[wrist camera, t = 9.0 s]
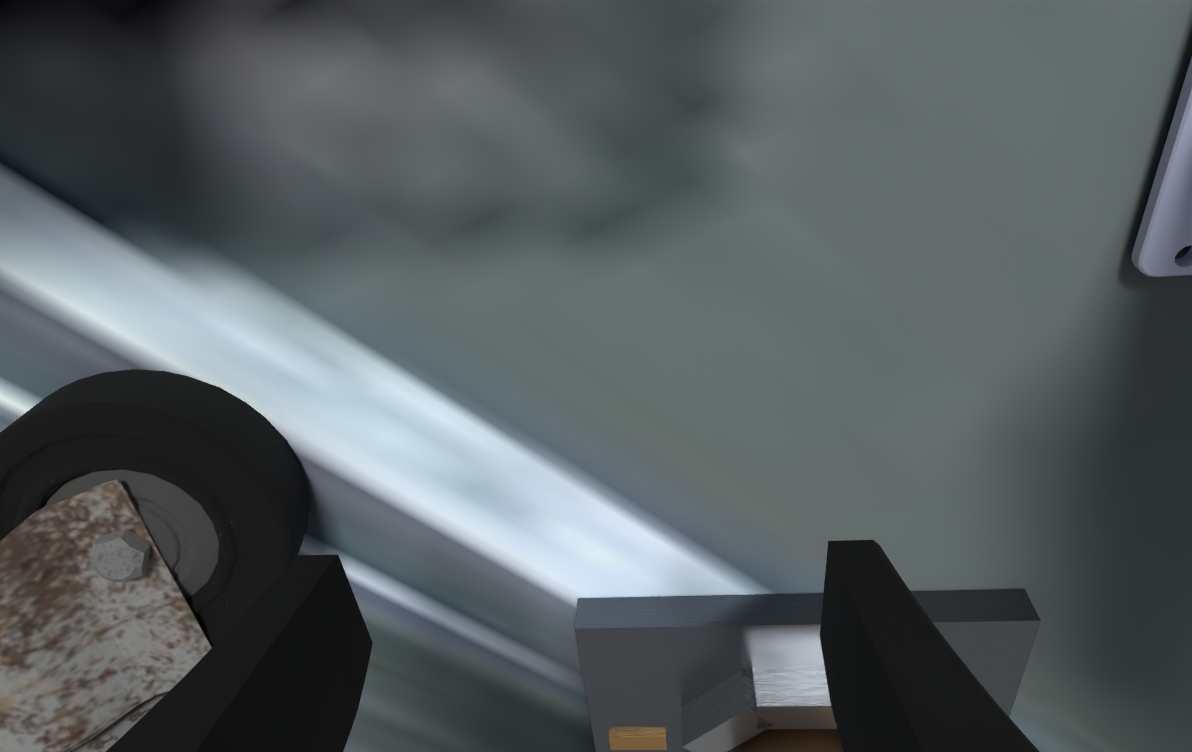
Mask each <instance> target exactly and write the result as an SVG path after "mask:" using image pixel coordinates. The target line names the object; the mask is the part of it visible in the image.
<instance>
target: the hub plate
mask: <svg viewBox="0 0 1192 752" xmlns="http://www.w3.org/2000/svg"><path fill="white" fill-rule="evenodd" d="M911 593H912V595H913V596H914V597H915V599H916V600H917V602H918V603H919V604H920V606H921V607H922V608H923V610H924V611H925V613H926V614H927V615H928V617H929V618H930V620H931V621H932V622H933V624H934V625H935V626H936V628H937V629H938V630H939V632H940V633H941V634H942V636H943V637H944V638H945V640H946V641H947V642H948V643H949V645H950V646H951V647H952V648H953V650H954V651H955V652H956V653H957V655H958V656H959V657H960V659H961V660H962V661H963V662H964V664H965V665H966V666H967V667H968V669H969V670H970V671H971V672H972V674H973V675H974V676H975V677H976V679H977V680H978V681H979V682H980V684H981V685H982V686H983V687H984V688H985V690H986V691H987V692H988V693H989V694H990V696H991V697H992V698H993V699H994V700H995V702H996V703H997V704H998V705H999V706H1000V708H1001V709H1002V710H1003V711H1004V712H1005V713H1006V714H1007V716H1008V717H1009V716H1010V713H1011V710H1012V707H1013V704H1014V701H1015V698H1016V695H1017V692H1018V688H1019V685H1020V682H1021V679H1022V676H1023V673H1024V670H1025V667H1026V664H1027V661H1028V658H1029V655H1030V652H1031V649H1032V646H1033V642H1034V639H1035V636H1036V633H1037V630H1038V627H1039V624H1040V621H1041V620H1040V618H1039V616H1038V615H1037V613H1036V611H1035V609H1034V607H1033V605H1032V603H1031V601H1030V599H1029V597H1028V595H1027V593H1026V591H1025V589H1011V590H963V591H915V592H911ZM823 595H824V593H819V594H771V595H723V596H675V597H627V598H579V599H578V602H577V612H576V623H575V632H576V638H577V644H578V650H579V655H580V661H581V667H582V673H583V679H584V685H585V691H586V697H587V703H588V709H589V715H590V721H591V726H592V732H593V738H594V744H595V750H596V752H733V748H734V747H736V746H738V745H739V744H741V743H743V742H745V741H746V740H748V739H750V738H752V737H754V736H755V735H757V734H759V733H761V732H762V731H764V730H766V729H837V726H836V722H835V719H834V715H833V711H832V707H831V702H830V696H829V690H828V685H827V679H826V673H825V666H824V660H823V654H822V648H821V641H820V627H821V616H822V605H823Z"/></svg>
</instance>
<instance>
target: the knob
mask: <svg viewBox="0 0 1192 752" xmlns="http://www.w3.org/2000/svg"><path fill="white" fill-rule="evenodd" d="M733 752H843V748H842V744H841V741H840V737H839V733H838V730H837V729H766V730H764V731H762V732H761V733H759V734H757V735H755V736H754V737H752V738H750V739H748V740H746V741H745V742H743V743H741V744H739V745H738V746H736V747H734V748H733Z"/></svg>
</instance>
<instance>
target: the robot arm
mask: <svg viewBox="0 0 1192 752" xmlns="http://www.w3.org/2000/svg"><path fill="white" fill-rule="evenodd" d="M1187 246H1191V248H1190V250H1189V251H1188V253H1187V254H1186V255H1184V256H1183V257H1182V258H1179V259H1175V256H1176V255H1177V253H1178V252H1179V251H1180V250H1181V249H1183V248H1184V247H1187ZM1132 262H1133V264H1134V266H1135V267H1136V268H1137V269H1138V270H1139V271H1141V272H1142V273H1144V274H1145V275H1147V276H1152V277H1165V276H1183V275H1192V57H1191V61H1190V64H1189V67H1188V71H1187V74H1186V77H1185V80H1184V84H1183V87H1182V90H1181V94H1180V97H1179V100H1178V103H1177V107H1176V110H1175V113H1174V117H1173V120H1172V123H1171V126H1170V130H1169V133H1168V136H1167V140H1166V143H1165V146H1164V149H1163V153H1162V156H1161V159H1160V163H1159V166H1158V169H1157V172H1156V176H1155V179H1154V182H1153V186H1152V189H1151V192H1150V195H1149V199H1148V202H1147V205H1146V209H1145V212H1144V215H1143V218H1142V222H1141V225H1140V228H1139V232H1138V235H1137V238H1136V241H1135V245H1134V248H1133V251H1132ZM820 641H821V648H822V654H823V660H824V666H825V673H826V679H827V685H828V690H829V696H830V702H831V707H832V711H833V715H834V719H835V722H836V726H837V730H838V733H839V737H840V741H841V744H842V748H843V752H1039V751H1038V750H1037V748H1036V747H1035V746H1034V745H1033V744H1032V743H1031V742H1030V741H1029V740H1028V738H1027V737H1026V736H1025V735H1024V734H1023V733H1022V732H1021V730H1020V729H1019V728H1018V727H1017V726H1016V725H1015V724H1014V722H1013V721H1012V720H1011V719H1010V718H1009V717H1008V716H1007V714H1006V713H1005V712H1004V711H1003V710H1002V709H1001V708H1000V706H999V705H998V704H997V703H996V702H995V700H994V699H993V698H992V697H991V696H990V694H989V693H988V692H987V691H986V690H985V688H984V687H983V686H982V685H981V684H980V682H979V681H978V680H977V679H976V677H975V676H974V675H973V674H972V672H971V671H970V670H969V669H968V667H967V666H966V665H965V664H964V662H963V661H962V660H961V659H960V657H959V656H958V655H957V653H956V652H955V651H954V650H953V648H952V647H951V646H950V645H949V643H948V642H947V641H946V640H945V638H944V637H943V636H942V634H941V633H940V632H939V630H938V629H937V628H936V626H935V625H934V624H933V622H932V621H931V620H930V618H929V617H928V615H927V614H926V613H925V611H924V610H923V608H922V607H921V606H920V604H919V603H918V602H917V600H916V599H915V597H914V596H913V595H912V593H911V592H910V590H909V589H908V587H907V586H906V585H905V583H904V582H903V580H902V579H901V577H900V576H899V574H898V573H897V571H896V570H895V568H894V567H893V565H892V564H891V562H890V561H889V559H888V558H887V556H886V554H885V553H884V551H883V550H882V548H881V546H880V545H878V544H877V543H876V542H875V541H874V540H853V541H828V552H827V563H826V573H825V584H824V595H823V605H822V616H821V627H820ZM371 648H372V640H371V638H370V635H369V632H368V630H367V627H366V625H365V622H364V620H363V617H362V615H361V612H360V609H359V607H358V604H357V602H356V599H355V597H354V594H353V592H352V589H351V586H350V584H349V581H348V579H347V576H346V574H345V571H344V569H343V566H342V563H341V561H340V558H339V556H338V555H304V556H299V557H298V558H297V559H296V560H295V561H294V562H293V563H292V564H291V565H290V566H289V567H288V568H287V569H286V570H285V571H284V572H283V573H282V574H281V575H280V576H279V577H278V579H277V580H276V581H275V582H274V583H273V584H272V585H271V586H270V587H269V588H268V589H267V590H266V591H265V592H264V593H263V595H262V596H261V597H260V598H259V599H258V600H257V601H256V602H255V603H254V604H253V605H252V606H251V607H250V608H249V609H248V611H247V612H246V613H245V614H244V615H243V616H242V617H241V618H240V619H239V620H238V621H237V622H236V623H235V624H234V625H233V626H232V628H231V629H230V630H229V631H228V632H227V633H226V634H225V635H224V636H223V637H222V638H221V639H220V640H219V641H218V642H217V643H216V644H215V645H214V646H213V647H212V648H211V649H210V650H209V652H208V653H207V654H206V655H205V656H204V657H203V658H202V659H201V660H200V661H199V662H198V663H197V664H196V665H195V666H194V667H193V668H192V669H191V670H190V671H189V672H188V673H187V674H186V675H185V676H184V677H183V678H182V679H181V680H180V681H179V682H178V683H177V684H176V685H175V686H174V687H173V688H172V689H171V690H170V691H169V692H168V693H167V694H166V695H165V696H164V697H163V698H162V699H161V700H160V701H158V702H157V703H156V704H155V705H154V706H153V707H152V708H151V709H150V710H149V711H148V712H147V713H146V714H145V715H144V716H143V717H142V718H141V719H140V720H139V721H138V722H137V723H136V724H135V725H134V726H133V727H132V728H130V729H129V730H128V731H127V732H126V733H125V734H124V735H123V736H122V737H121V738H120V739H119V740H118V741H117V742H116V743H114V744H113V745H112V746H111V747H110V748H109V749H108V750H107V751H106V752H343V751H344V748H345V745H346V742H347V739H348V737H349V734H350V731H351V728H352V725H353V722H354V719H355V716H356V713H357V710H358V706H359V702H360V698H361V694H362V690H363V685H364V681H365V677H366V672H367V667H368V662H369V658H370V653H371Z"/></svg>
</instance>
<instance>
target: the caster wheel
mask: <svg viewBox="0 0 1192 752" xmlns="http://www.w3.org/2000/svg"><path fill="white" fill-rule="evenodd" d="M308 509H309V506H308V496H307V487H306V482H305V478H304V476H303V473H302V471H301V468H300V466H299V463H298V461H297V459H296V458H295V456H294V454H293V453H292V451H291V449H290V448H289V446H288V444H287V443H286V441H285V439H284V438H283V437H282V436H281V435H280V434H279V432H278V431H277V430H276V429H275V428H274V427H273V426H272V425H271V424H270V423H269V422H268V421H267V420H266V419H265V417H263V416H262V415H261V414H260V413H258V412H257V411H256V410H254V409H253V408H252V407H250V406H249V405H248V404H247V403H245V402H244V401H242V400H240V399H238V398H237V397H235V396H233V395H231V394H230V393H228V392H226V391H225V390H223V389H221V388H219V387H216V386H214V385H211V384H208V383H205V382H202V381H199V380H197V379H194V378H191V377H188V376H184V375H179V374H175V373H170V372H165V371H150V370H134V369H133V370H124V371H116V372H107V373H101V374H97V375H94V376H91V377H87V378H84V379H80V380H78V381H75V382H73V383H71V384H68V385H66V386H64V387H62V388H60V389H59V390H57V391H55V392H54V393H52V394H50V395H49V396H47V397H46V398H45V399H43V400H42V401H41V402H39V403H38V404H37V405H36V406H34V407H33V408H32V409H30V410H29V411H28V412H26V413H25V414H24V415H23V416H21V417H20V418H19V419H17V420H16V421H15V422H13V423H12V424H11V425H10V426H8V427H7V428H6V429H4V430H3V431H2V432H1V433H0V752H106V751H107V750H108V749H109V748H110V747H111V746H112V745H113V744H114V743H116V742H117V741H118V740H119V739H120V738H121V737H122V736H123V735H124V734H125V733H126V732H127V731H128V730H129V729H130V728H132V727H133V726H134V725H135V724H136V723H137V722H138V721H139V720H140V719H141V718H142V717H143V716H144V715H145V714H146V713H147V712H148V711H149V710H150V709H151V708H152V707H153V706H154V705H155V704H156V703H157V702H158V701H160V700H161V699H162V698H163V697H164V696H165V695H166V694H167V693H168V692H169V691H170V690H171V689H172V688H173V687H174V686H175V685H176V684H177V683H178V682H179V681H180V680H181V679H182V678H183V677H184V676H185V675H186V674H187V673H188V672H189V671H190V670H191V669H192V668H193V667H194V666H195V665H196V664H197V663H198V662H199V661H200V660H201V659H202V658H203V657H204V656H205V655H206V654H207V653H208V652H209V650H210V649H211V648H212V647H213V646H214V645H215V644H216V643H217V642H218V641H219V640H220V639H221V638H222V637H223V636H224V635H225V634H226V633H227V632H228V631H229V630H230V629H231V628H232V626H233V625H234V624H235V623H236V622H237V621H238V620H239V619H240V618H241V617H242V616H243V615H244V614H245V613H246V612H247V611H248V609H249V608H250V607H251V606H252V605H253V604H254V603H255V602H256V601H257V600H258V599H259V598H260V597H261V596H262V595H263V593H264V592H265V591H266V590H267V589H268V588H269V587H270V586H271V585H272V584H273V583H274V582H275V581H276V580H277V579H278V577H279V576H280V575H281V574H282V573H283V572H284V571H285V570H286V569H287V568H288V567H289V566H290V565H291V564H292V563H293V562H294V561H295V560H296V557H297V555H298V552H299V550H300V547H301V544H302V541H303V537H304V534H305V531H306V527H307V519H308Z"/></svg>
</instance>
